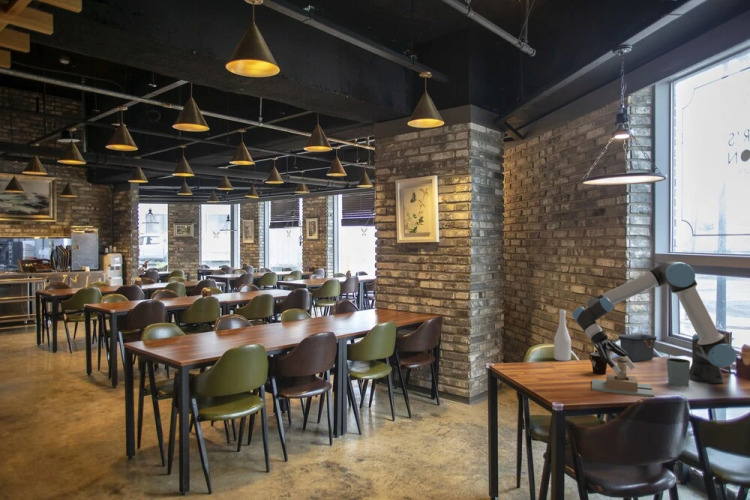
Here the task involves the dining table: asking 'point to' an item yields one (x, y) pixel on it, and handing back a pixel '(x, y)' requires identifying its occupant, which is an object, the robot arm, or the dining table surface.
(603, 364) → the coffee mug
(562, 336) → the wine bottle
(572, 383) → the dining table surface
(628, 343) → the storage bin
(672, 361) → the grey-green tapered pot
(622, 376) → the round peg
